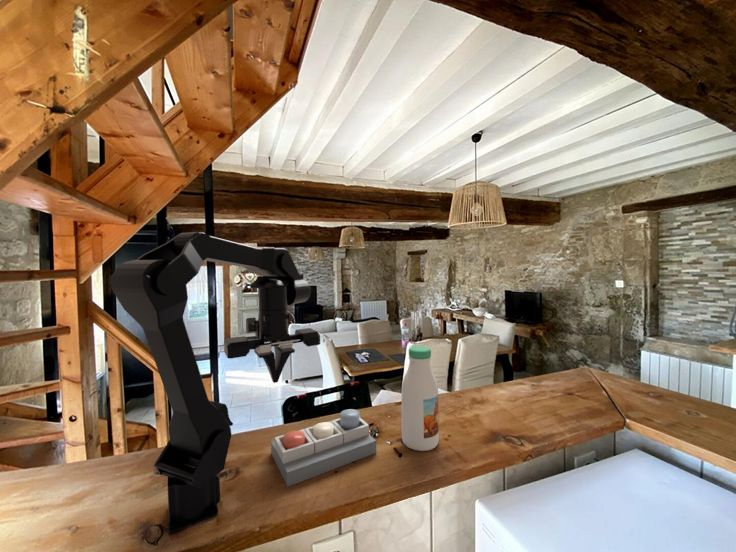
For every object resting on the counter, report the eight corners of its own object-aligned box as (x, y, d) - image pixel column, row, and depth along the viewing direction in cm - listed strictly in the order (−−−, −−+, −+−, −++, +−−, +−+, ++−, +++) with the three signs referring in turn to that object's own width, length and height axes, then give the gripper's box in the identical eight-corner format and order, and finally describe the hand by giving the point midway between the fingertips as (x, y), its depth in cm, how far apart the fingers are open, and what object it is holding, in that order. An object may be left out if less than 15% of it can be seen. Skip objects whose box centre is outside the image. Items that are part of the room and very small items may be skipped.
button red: (286, 458, 57) (286, 444, 57) (280, 447, 61) (280, 434, 61) (307, 451, 59) (307, 438, 59) (300, 440, 63) (300, 428, 63)
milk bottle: (410, 455, 62) (409, 355, 61) (396, 434, 70) (395, 345, 69) (445, 448, 64) (445, 351, 63) (428, 429, 72) (428, 342, 71)
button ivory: (317, 447, 60) (317, 434, 60) (310, 437, 64) (310, 425, 64) (336, 441, 62) (336, 429, 62) (328, 432, 66) (328, 420, 66)
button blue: (345, 432, 63) (345, 420, 63) (337, 423, 67) (337, 412, 67) (363, 426, 65) (362, 415, 65) (353, 418, 69) (353, 407, 69)
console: (287, 486, 54) (286, 461, 54) (271, 453, 63) (270, 431, 63) (376, 452, 63) (376, 430, 63) (350, 428, 73) (350, 408, 72)
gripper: (303, 301, 78) (304, 363, 78) (219, 307, 68) (222, 378, 69) (320, 306, 68) (321, 377, 69) (226, 315, 58) (229, 397, 59)
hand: (275, 382), depth 67 cm, fingers closed
